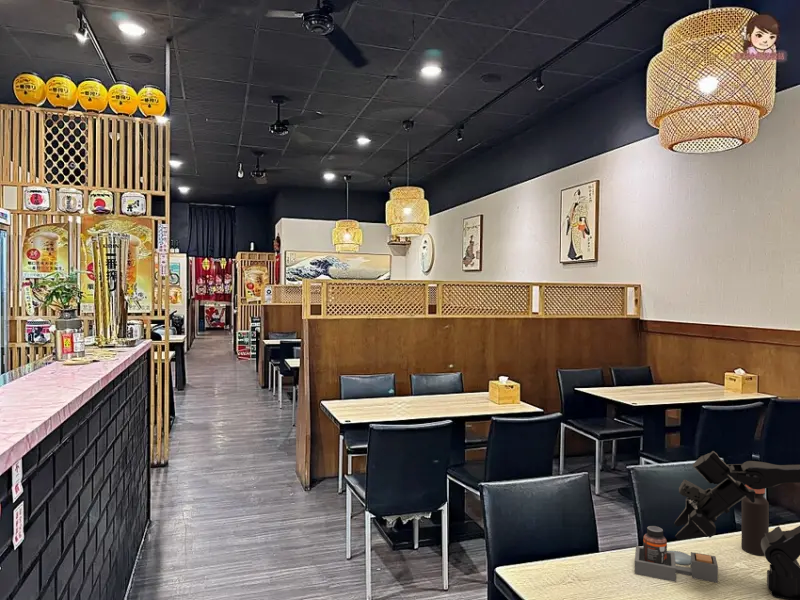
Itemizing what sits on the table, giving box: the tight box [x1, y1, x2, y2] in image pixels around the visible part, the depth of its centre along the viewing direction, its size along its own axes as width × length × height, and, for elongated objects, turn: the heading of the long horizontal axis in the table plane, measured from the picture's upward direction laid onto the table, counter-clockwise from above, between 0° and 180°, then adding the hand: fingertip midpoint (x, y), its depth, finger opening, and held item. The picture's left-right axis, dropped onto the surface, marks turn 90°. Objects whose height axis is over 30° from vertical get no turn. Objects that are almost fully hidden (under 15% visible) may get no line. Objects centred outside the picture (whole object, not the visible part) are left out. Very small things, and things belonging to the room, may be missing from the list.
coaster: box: [667, 550, 691, 566], centre depth 159 cm, size 8×8×1 cm
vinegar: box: [740, 483, 770, 557], centre depth 164 cm, size 7×7×20 cm
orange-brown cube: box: [695, 552, 712, 563], centre depth 149 cm, size 4×4×4 cm
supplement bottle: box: [642, 525, 668, 565], centre depth 153 cm, size 6×6×11 cm
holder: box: [634, 545, 719, 584], centre depth 150 cm, size 20×10×4 cm, turn 65°
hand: (675, 531), depth 150 cm, fingers open, 9 cm apart
